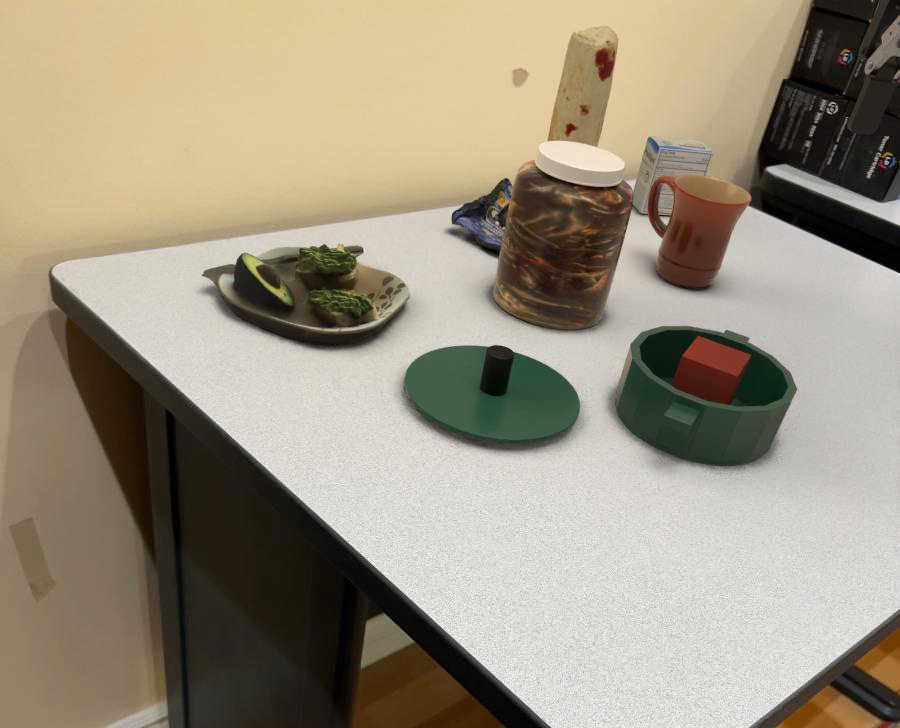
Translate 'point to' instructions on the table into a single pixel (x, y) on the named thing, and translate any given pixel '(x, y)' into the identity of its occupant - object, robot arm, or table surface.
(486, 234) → the snack package
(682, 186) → the mug
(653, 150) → the medicine box
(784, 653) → the table surface
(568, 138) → the food model
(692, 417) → the pot
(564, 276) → the jar
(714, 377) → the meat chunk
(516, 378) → the pot lid
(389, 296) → the plate of avocado toast
